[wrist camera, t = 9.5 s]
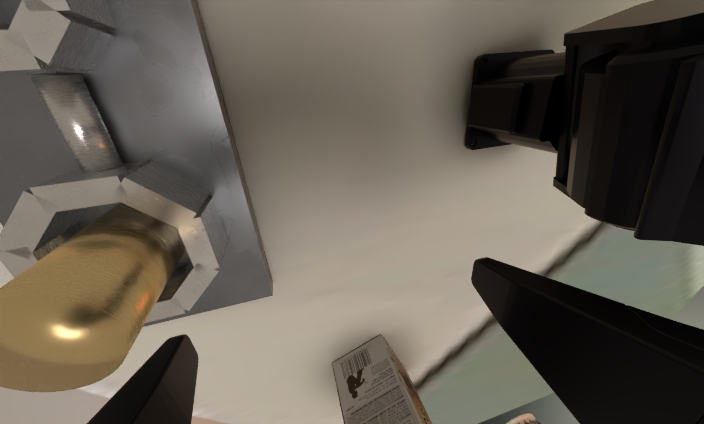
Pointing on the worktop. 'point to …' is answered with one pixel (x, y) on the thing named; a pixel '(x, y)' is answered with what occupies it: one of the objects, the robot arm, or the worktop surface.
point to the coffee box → (376, 387)
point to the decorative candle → (523, 419)
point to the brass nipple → (85, 302)
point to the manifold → (123, 142)
